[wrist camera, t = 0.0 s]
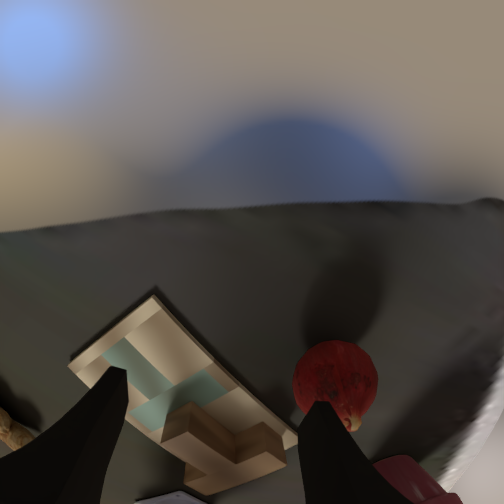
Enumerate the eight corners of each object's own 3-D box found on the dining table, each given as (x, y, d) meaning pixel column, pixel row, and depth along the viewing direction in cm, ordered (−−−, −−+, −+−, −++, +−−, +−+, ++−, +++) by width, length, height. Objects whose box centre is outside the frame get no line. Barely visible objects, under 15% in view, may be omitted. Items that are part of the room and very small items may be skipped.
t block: (207, 469, 25) (206, 495, 22) (144, 425, 23) (136, 453, 20) (282, 436, 24) (287, 465, 21) (220, 384, 22) (219, 415, 19)
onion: (270, 346, 22) (287, 424, 14) (339, 306, 21) (385, 370, 14) (305, 392, 23) (328, 466, 16) (366, 358, 23) (407, 423, 15)
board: (213, 475, 26) (213, 479, 26) (70, 362, 22) (67, 365, 21) (301, 436, 25) (302, 441, 24) (153, 293, 20) (151, 297, 20)
